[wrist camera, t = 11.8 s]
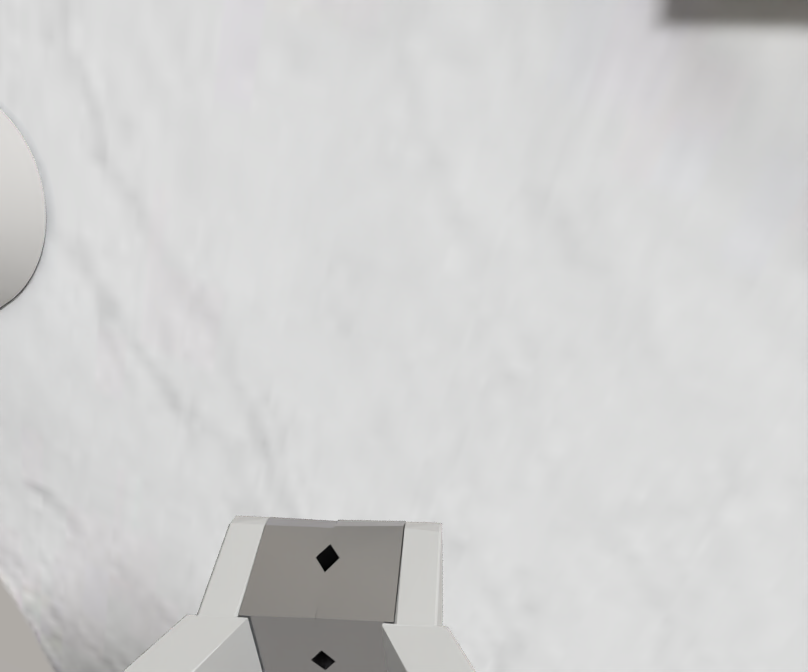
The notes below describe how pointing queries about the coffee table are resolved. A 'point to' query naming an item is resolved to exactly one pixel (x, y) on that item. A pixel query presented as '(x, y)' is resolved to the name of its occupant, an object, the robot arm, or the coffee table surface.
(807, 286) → the coffee table surface
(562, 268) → the coffee table surface
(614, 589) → the coffee table surface
